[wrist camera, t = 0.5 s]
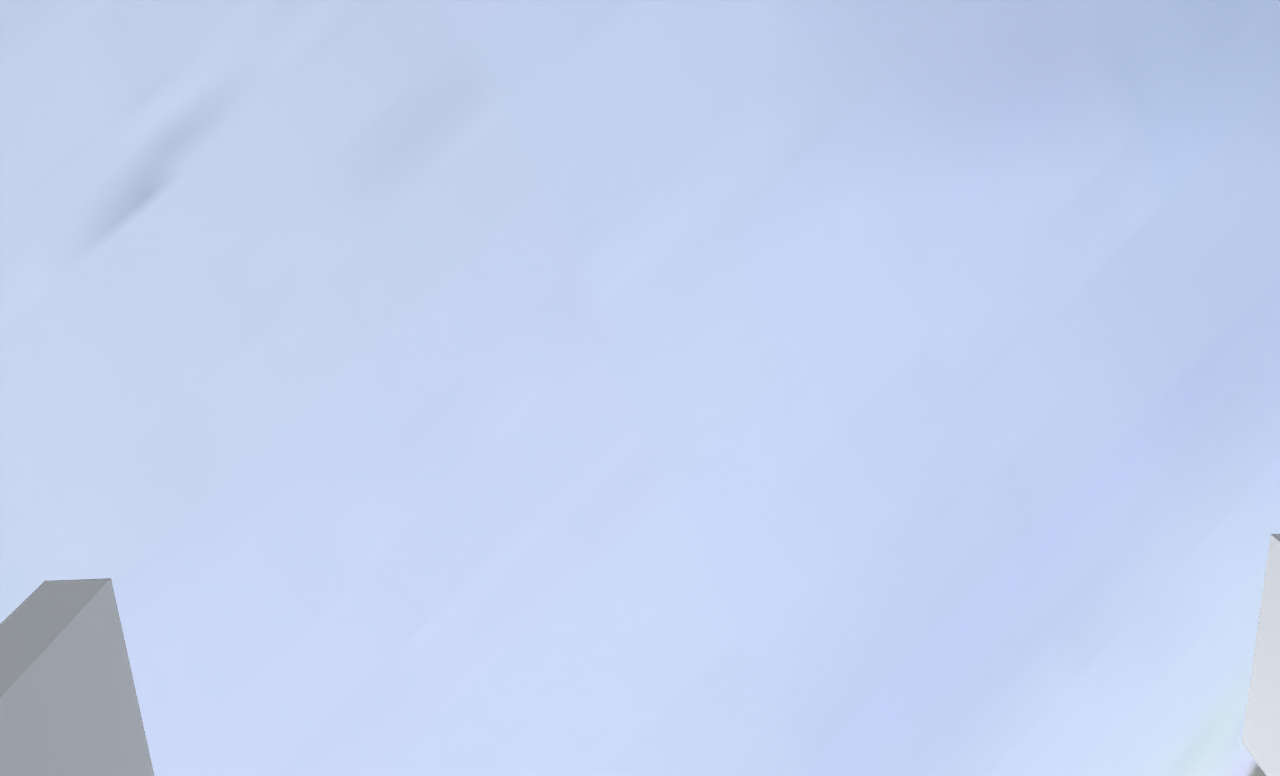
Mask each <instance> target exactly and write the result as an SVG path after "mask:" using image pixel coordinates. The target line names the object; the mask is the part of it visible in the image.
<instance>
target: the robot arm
mask: <svg viewBox="0 0 1280 776" xmlns="http://www.w3.org/2000/svg"><path fill="white" fill-rule="evenodd" d="M1242 744H1243V746H1244V747H1245V748H1246V750H1247V751H1248V752H1249V753H1250V755H1251V756H1252V757H1253V759H1254V760H1255V761H1256V762H1257V764H1258V765H1259V766H1260V768H1261V769H1262V770H1263V771H1264V773H1265V774H1266V775H1267V776H1280V534H1271V538H1270V545H1269V552H1268V559H1267V566H1266V573H1265V580H1264V587H1263V594H1262V601H1261V608H1260V616H1259V623H1258V630H1257V637H1256V644H1255V651H1254V658H1253V665H1252V672H1251V679H1250V686H1249V693H1248V701H1247V708H1246V715H1245V722H1244V729H1243V736H1242ZM0 776H154V772H153V768H152V763H151V759H150V754H149V749H148V745H147V740H146V736H145V731H144V727H143V722H142V718H141V713H140V709H139V704H138V700H137V695H136V690H135V686H134V681H133V677H132V672H131V668H130V663H129V659H128V654H127V650H126V645H125V640H124V636H123V631H122V627H121V622H120V618H119V613H118V609H117V604H116V600H115V595H114V590H113V586H112V581H111V578H109V579H82V580H56V581H44V582H43V583H42V584H41V585H40V586H39V587H38V588H37V589H36V590H35V591H34V592H33V593H32V594H31V595H30V596H29V597H28V598H27V599H26V600H25V601H24V602H23V603H22V604H21V605H20V606H19V607H18V608H17V609H16V610H15V611H14V612H13V613H12V614H10V615H9V616H8V617H7V618H6V619H5V620H4V621H3V622H2V623H1V624H0Z"/></svg>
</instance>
